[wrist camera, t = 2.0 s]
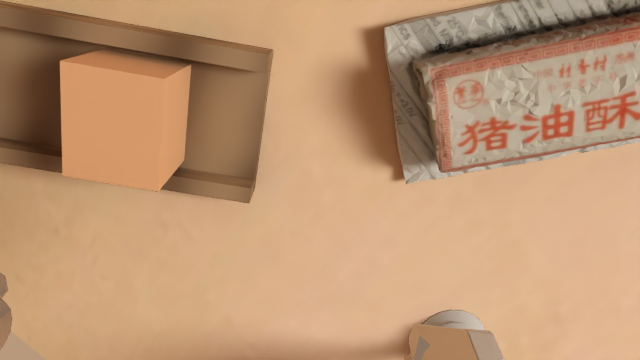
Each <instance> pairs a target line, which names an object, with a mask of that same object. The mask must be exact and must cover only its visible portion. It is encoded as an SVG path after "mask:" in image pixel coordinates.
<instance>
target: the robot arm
mask: <svg viewBox="0 0 640 360" xmlns="http://www.w3.org/2000/svg"><path fill="white" fill-rule="evenodd" d="M7 291H8V287H7V282H6V277H5V275H3V274H2V273H0V349H1V348H2V347H3V346H4V344H5V342H6V340H7V338H8V336H9V334H10V332H11V325H12V314H11V309H10V308H9V306H8V305H7V304H6V303H5V302H4V301H3V299H2V298H3V296H4V295H5V294H6V292H7ZM409 346H410V351H411V353H410V354H408V355H407V356H406V357H405V358H404V360H505V359H504V357H503V355H502V353H501V350H500V348H499V346H498V344H497V341H496V339H495V337H494V335H493V334H492V333H491V332H490V331H486V330H475V329H465V328H464V329H457V328H448V327H440V326H432V325H423V324H415V323H414V324H413V326H412V328H411V332H410V336H409Z"/></svg>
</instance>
